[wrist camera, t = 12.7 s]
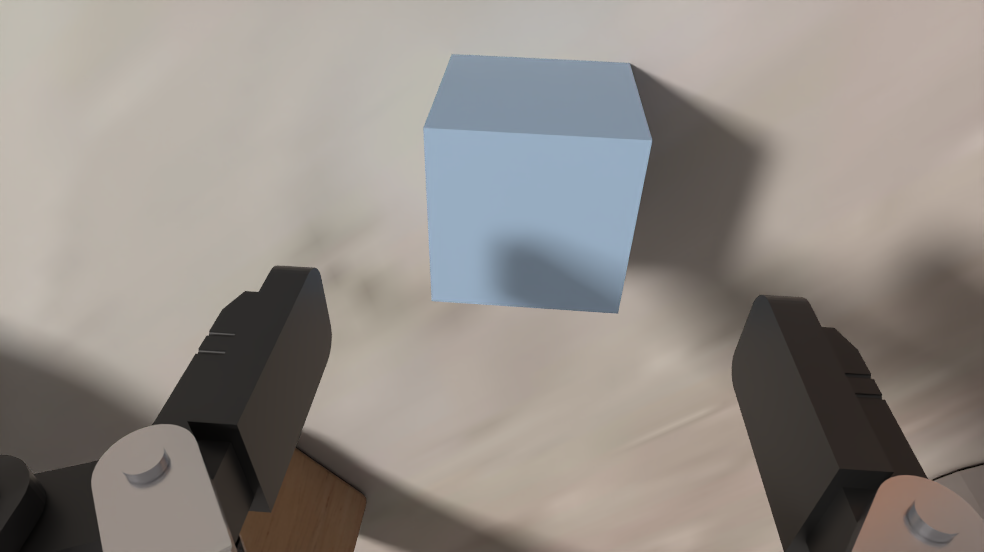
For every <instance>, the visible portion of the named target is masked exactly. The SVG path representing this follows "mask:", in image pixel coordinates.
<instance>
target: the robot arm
mask: <svg viewBox="0 0 984 552" xmlns="http://www.w3.org/2000/svg"><path fill="white" fill-rule="evenodd" d="M331 340H332V332H331V324H330V319H329V314H328V309H327V304H326V299H325V294H324V289H323V284H322V279H321V275H320V272H319V271H318V269H317V268H310V267H293V266H275V267H273V268H272V269H271V271H270V273H269V274H268V276H267V278H266V280H265V282H264V283H263V285H262V287H261V289H260V291H259V292H249V291H245V292H243V293H242V294H241V295H240V296H238V297H237V298H236V299H235V300H234V301H232V302H231V303H230V304H229V305H227V306H226V307H225V308H224V309H222V311H221V313H220V314H219V316H218V318H217V319H216V321H215V323H214V324H213V326H212V328H211V329H210V331H209V336H206V337H205V339H204V341H203V342H202V344H201V346H200V347H199V352H198V354H195V356H194V357H193V359H192V361H191V362H190V364H189V366H188V367H187V369H186V371H185V372H184V374H183V375H182V377H181V379H180V380H179V382H178V384H177V385H176V387H175V389H174V390H173V392H172V394H171V395H170V397H169V399H168V400H167V402H166V404H165V405H164V407H163V409H162V410H161V412H160V414H159V415H158V417H157V418H156V420H155V421H154V423H153V424H152V426H148V427H144V428H141V429H138V430H136V431H134V432H132V433H130V434H128V435H126V436H124V437H123V438H121V439H120V440H118V441H117V442H116V443H114V444H113V445H112V446H111V447H110V448H109V449H108V450H107V451H106V452H105V453H104V454H103V455H102V457H101V458H100V459H99V460H98V461H94V462H90V463H86V464H81V465H76V466H71V467H67V468H62V469H57V470H52V471H47V472H42V473H38V474H33V473H32V472H31V471H30V469H29V468H28V467H27V465H26V464H25V463H24V462H23V461H22V460H20V459H18V458H16V457H13V456H9V455H0V552H247V551H246V549H245V546H244V543H243V540H242V537H241V535H240V531H241V529H242V526H243V524H244V521H245V519H246V516H247V514H248V511H255V512H269V513H271V512H272V509H273V506H274V504H275V501H276V498H277V496H278V493H279V490H280V488H281V485H282V482H283V479H284V477H285V474H286V471H287V469H288V466H289V463H290V461H291V458H292V455H293V453H294V450H295V447H296V445H297V442H298V439H299V437H300V434H301V431H302V428H303V426H304V423H305V420H306V418H307V415H308V412H309V410H310V407H311V404H312V402H313V399H314V396H315V394H316V391H317V388H318V385H319V383H320V380H321V377H322V375H323V372H324V369H325V367H326V364H327V361H328V358H329V354H330V349H331ZM732 382H733V387H734V390H735V393H736V397H737V400H738V403H739V406H740V410H741V413H742V416H743V420H744V423H745V426H746V429H747V433H748V436H749V439H750V442H751V446H752V449H753V452H754V455H755V459H756V462H757V465H758V468H759V472H760V475H761V478H762V481H763V485H764V488H765V491H766V494H767V498H768V501H769V504H770V507H771V511H772V514H773V517H774V521H775V524H776V527H777V530H778V534H779V537H780V540H781V543H782V547H783V550H784V552H984V465H981V466H977V467H974V468H970V469H966V470H962V471H958V472H955V473H953V474H950V475H947V476H945V477H942V478H939V479H937V480H934V481H932V480H929V479H928V478H927V476H926V475H925V473H924V471H923V469H922V467H921V465H920V464H919V462H918V460H917V458H916V456H915V454H914V453H913V451H912V449H911V447H910V445H909V443H908V441H907V440H906V438H905V436H904V434H903V432H902V430H901V429H900V427H899V425H898V423H897V421H896V419H895V418H894V416H893V414H892V412H891V410H890V408H889V406H888V405H887V403H886V401H885V400H882V394H881V392H880V390H879V388H878V386H877V384H876V383H875V381H874V379H871V373H870V371H869V370H868V368H867V366H866V364H865V362H864V360H863V359H862V357H861V355H860V353H859V351H858V350H857V349H856V348H855V347H854V346H853V345H852V344H851V343H850V342H849V341H848V340H847V339H846V338H844V337H843V336H842V335H841V334H840V333H839V332H838V331H837V330H836V329H835V328H827V327H821V325H820V323H819V321H818V319H817V317H816V315H815V313H814V311H813V309H812V307H811V305H810V303H809V302H808V300H807V299H805V298H803V297H787V296H770V295H760V296H758V297H757V298H756V299H755V301H754V303H753V306H752V308H751V311H750V313H749V316H748V319H747V321H746V324H745V326H744V329H743V332H742V334H741V337H740V339H739V342H738V345H737V347H736V350H735V353H734V356H733V361H732Z"/></svg>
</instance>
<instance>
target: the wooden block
mask: <svg viewBox="0 0 984 552" xmlns="http://www.w3.org/2000/svg"><path fill="white" fill-rule="evenodd" d="M366 503H367V502H366V497H365V496H364V495H363V494H362V493H360V492H359V491H357V490H356V489H354V488H353V487H352V486H350V485H349V484H347V483H346V482H344V481H343V480H341V479H340V478H339V477H337V476H336V475H334V474H333V473H331V472H330V471H328V470H327V469H326V468H324V467H323V466H321V465H320V464H318V463H317V462H315V461H314V460H312V459H311V458H310V457H308V456H307V455H305V454H304V453H302V452H301V451H299V450H298V449H297V448H295V450H294V453H293V455H292V458H291V461H290V463H289V466H288V469H287V471H286V474H285V477H284V479H283V482H282V485H281V488H280V490H279V493H278V496H277V498H276V501H275V504H274V506H273V509H272V512H271V513H269V512H255V511H248V514H247V516H246V519H245V521H244V524H243V526H242V529H241V531H240V535H241V537H242V540H243V543H244V546H245V549H246V551H247V552H354V549H355V545H356V541H357V537H358V534H359V530H360V526H361V522H362V518H363V514H364V511H365V507H366Z"/></svg>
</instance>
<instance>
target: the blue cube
mask: <svg viewBox="0 0 984 552" xmlns="http://www.w3.org/2000/svg"><path fill="white" fill-rule="evenodd" d="M423 129H424V150H425V171H426V191H427V212H428V233H429V253H430V274H431V295H432V301H440V302H455V303H470V304H485V305H500V306H514V307H529V308H544V309H559V310H573V311H588V312H603V313H618V310H619V305H620V300H621V295H622V290H623V285H624V280H625V275H626V270H627V265H628V260H629V255H630V250H631V245H632V240H633V235H634V230H635V225H636V220H637V215H638V210H639V205H640V200H641V195H642V190H643V185H644V180H645V175H646V170H647V165H648V160H649V155H650V150H651V144H652V138H651V134H650V131H649V127H648V124H647V121H646V117H645V114H644V110H643V107H642V103H641V100H640V97H639V93H638V90H637V86H636V83H635V79H634V76H633V73H632V69H631V66H630V63H618V62H598V61H578V60H558V59H538V58H517V57H497V56H477V55H457V54H452V55H451V58H450V60H449V63H448V66H447V68H446V71H445V73H444V76H443V79H442V81H441V84H440V86H439V89H438V92H437V94H436V97H435V99H434V102H433V104H432V107H431V110H430V112H429V115H428V117H427V120H426V123H425V125H424V128H423Z"/></svg>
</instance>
